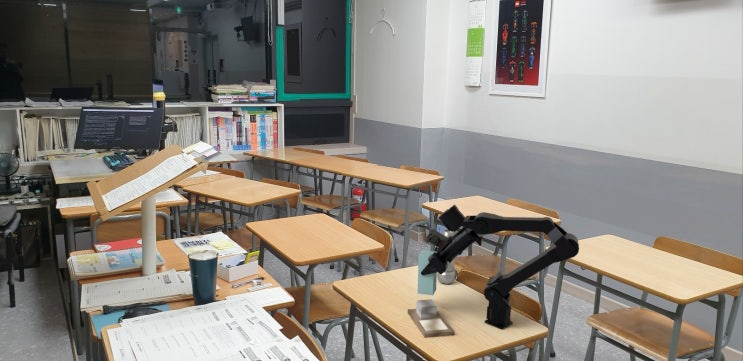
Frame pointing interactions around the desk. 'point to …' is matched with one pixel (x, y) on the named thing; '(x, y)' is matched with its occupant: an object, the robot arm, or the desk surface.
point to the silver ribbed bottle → (449, 273)
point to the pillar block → (426, 281)
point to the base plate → (429, 319)
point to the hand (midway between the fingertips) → (423, 271)
